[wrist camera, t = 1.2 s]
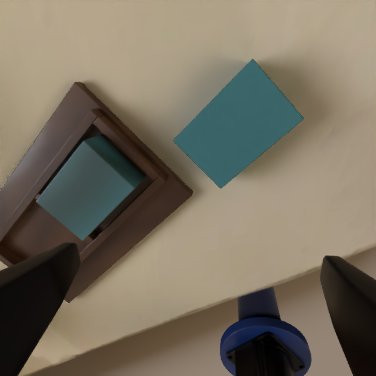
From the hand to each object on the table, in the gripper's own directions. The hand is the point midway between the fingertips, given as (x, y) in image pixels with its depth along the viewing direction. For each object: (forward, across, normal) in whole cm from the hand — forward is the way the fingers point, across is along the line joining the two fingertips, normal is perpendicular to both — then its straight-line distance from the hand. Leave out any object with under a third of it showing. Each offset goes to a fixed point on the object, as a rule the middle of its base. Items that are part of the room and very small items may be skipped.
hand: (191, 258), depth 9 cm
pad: (+15, -2, -3) cm, 15 cm away
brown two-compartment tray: (+15, +15, +6) cm, 22 cm away
